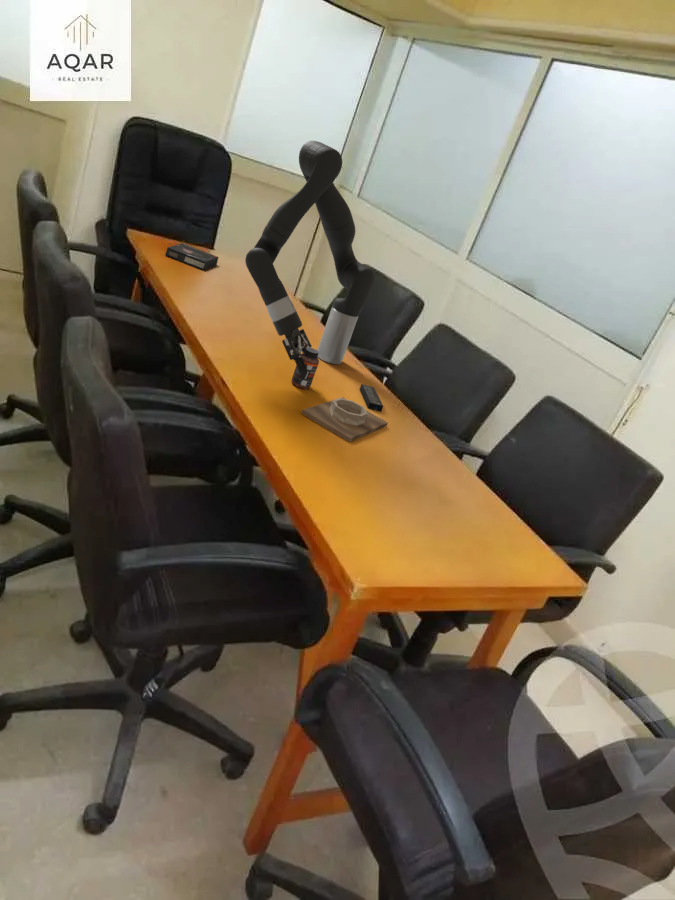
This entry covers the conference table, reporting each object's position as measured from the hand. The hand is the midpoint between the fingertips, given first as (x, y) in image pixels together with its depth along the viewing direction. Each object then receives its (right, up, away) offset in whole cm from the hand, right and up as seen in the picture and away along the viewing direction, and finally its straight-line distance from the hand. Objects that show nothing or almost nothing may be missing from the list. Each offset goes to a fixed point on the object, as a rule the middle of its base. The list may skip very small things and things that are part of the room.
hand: (308, 367), depth 199 cm
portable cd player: (-52, +54, +86) cm, 114 cm away
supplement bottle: (-2, -5, +3) cm, 6 cm away
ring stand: (+11, -16, -10) cm, 21 cm away
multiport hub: (+18, -9, +11) cm, 24 cm away
